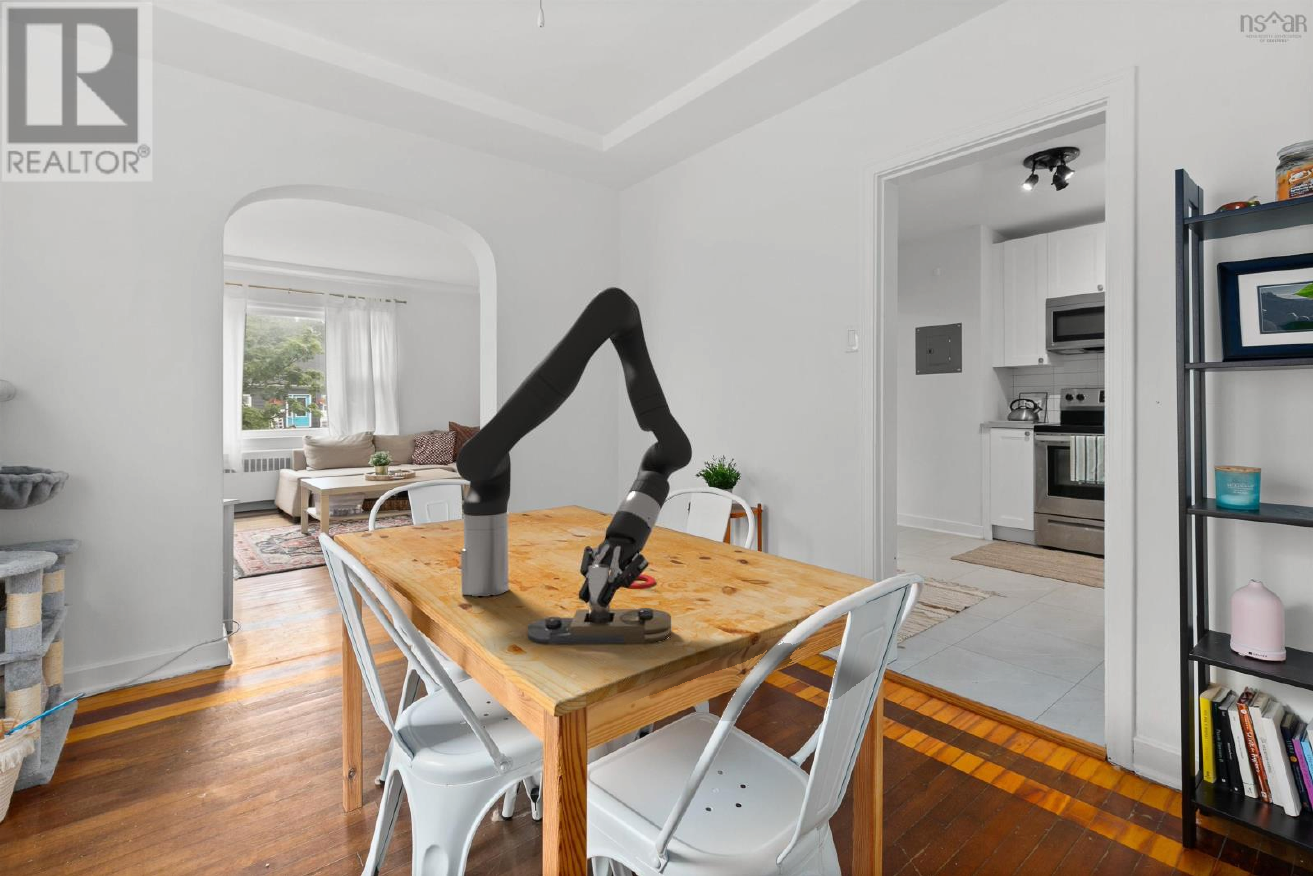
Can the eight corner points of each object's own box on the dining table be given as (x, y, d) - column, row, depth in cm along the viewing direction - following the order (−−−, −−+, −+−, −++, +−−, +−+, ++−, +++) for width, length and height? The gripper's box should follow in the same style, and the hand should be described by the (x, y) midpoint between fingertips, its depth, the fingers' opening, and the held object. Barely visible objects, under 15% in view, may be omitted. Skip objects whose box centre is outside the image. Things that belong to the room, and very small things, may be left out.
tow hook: (662, 584, 142) (633, 575, 149) (664, 528, 141) (634, 522, 148) (636, 593, 136) (607, 583, 143) (638, 534, 135) (608, 527, 142)
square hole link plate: (522, 644, 105) (522, 619, 105) (533, 626, 114) (532, 603, 114) (671, 643, 105) (671, 618, 105) (670, 625, 114) (670, 602, 114)
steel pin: (588, 627, 108) (587, 569, 107) (590, 620, 111) (589, 564, 111) (609, 626, 108) (608, 569, 107) (610, 619, 111) (609, 564, 111)
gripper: (595, 506, 119) (550, 584, 109) (656, 512, 111) (613, 598, 101) (613, 529, 123) (571, 607, 114) (673, 537, 115) (634, 621, 106)
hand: (591, 602), depth 108 cm, fingers closed on steel pin, 3 cm apart
